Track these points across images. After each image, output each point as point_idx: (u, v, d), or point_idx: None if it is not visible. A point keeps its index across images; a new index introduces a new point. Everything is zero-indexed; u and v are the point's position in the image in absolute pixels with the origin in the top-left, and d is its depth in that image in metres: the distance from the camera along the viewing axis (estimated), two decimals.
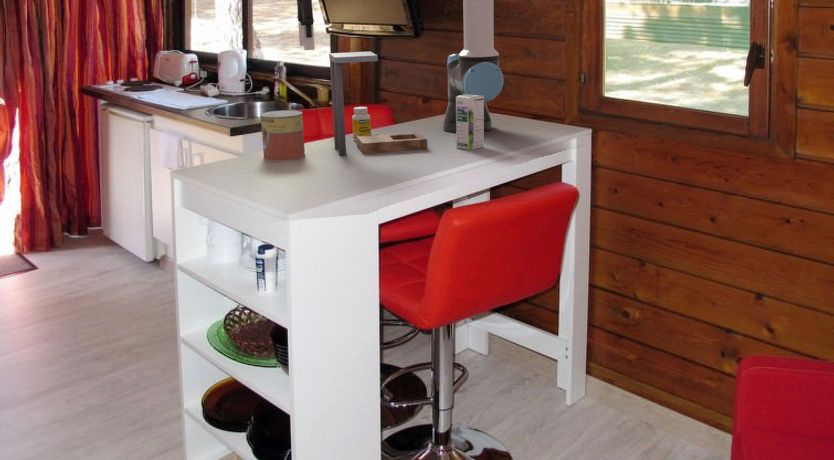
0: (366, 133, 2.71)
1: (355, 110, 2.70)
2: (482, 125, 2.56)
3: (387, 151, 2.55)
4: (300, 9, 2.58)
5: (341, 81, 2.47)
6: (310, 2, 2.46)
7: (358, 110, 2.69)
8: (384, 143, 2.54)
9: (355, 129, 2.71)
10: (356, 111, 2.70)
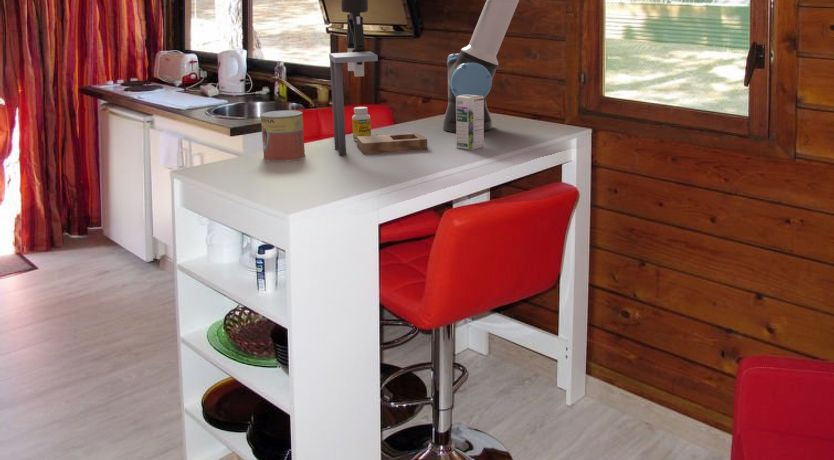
0: (366, 133, 2.71)
1: (355, 110, 2.70)
2: (482, 125, 2.56)
3: (387, 151, 2.55)
4: (350, 36, 2.70)
5: (341, 81, 2.47)
6: (362, 31, 2.58)
7: (358, 110, 2.69)
8: (384, 143, 2.54)
9: (355, 129, 2.71)
10: (356, 111, 2.70)
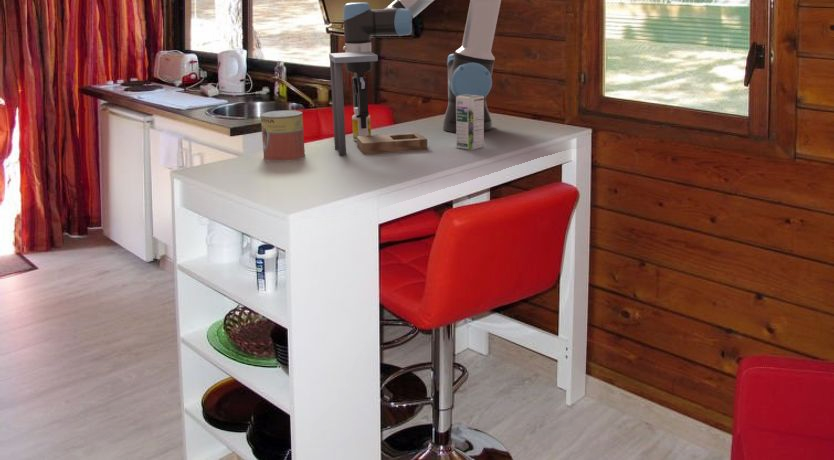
0: None
1: (355, 110, 2.70)
2: (482, 125, 2.56)
3: (387, 151, 2.55)
4: (356, 98, 2.72)
5: (341, 81, 2.47)
6: (366, 96, 2.64)
7: None
8: (384, 143, 2.54)
9: (354, 129, 2.71)
10: (356, 111, 2.70)
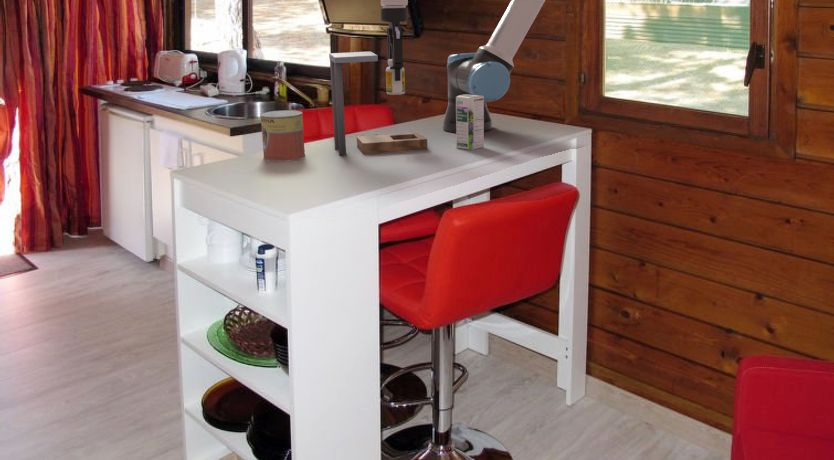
0: None
1: (389, 62, 2.59)
2: (482, 125, 2.56)
3: (387, 151, 2.55)
4: (391, 50, 2.62)
5: (341, 81, 2.47)
6: (401, 47, 2.54)
7: None
8: (384, 143, 2.54)
9: (388, 81, 2.60)
10: (390, 63, 2.59)
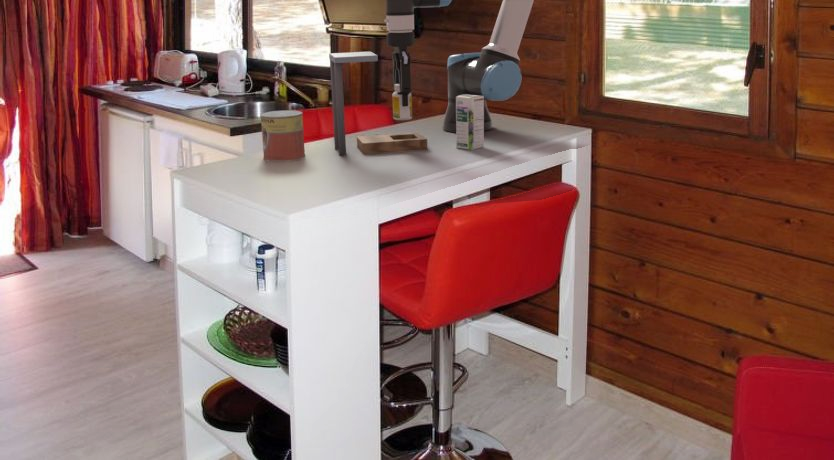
0: None
1: (396, 87, 2.55)
2: (482, 125, 2.56)
3: (387, 151, 2.55)
4: (397, 74, 2.57)
5: (341, 81, 2.47)
6: (409, 72, 2.49)
7: (399, 87, 2.54)
8: (384, 143, 2.54)
9: (395, 107, 2.56)
10: (397, 88, 2.54)
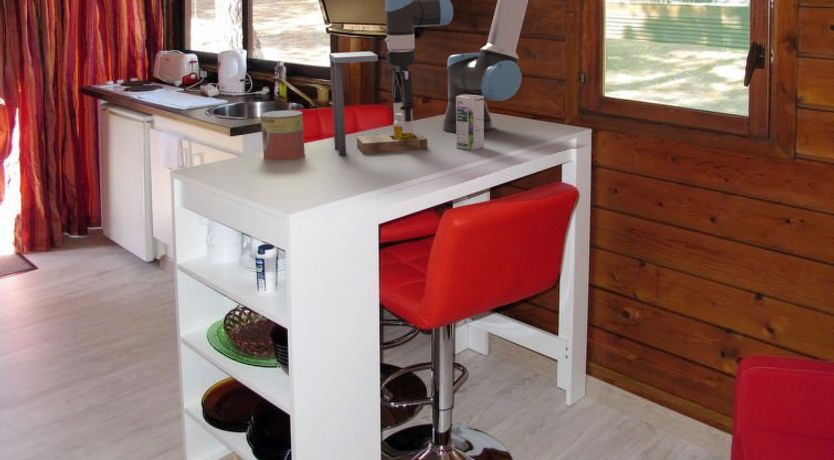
0: None
1: (397, 116, 2.57)
2: (482, 125, 2.56)
3: (387, 151, 2.55)
4: (396, 90, 2.60)
5: (341, 81, 2.47)
6: (410, 87, 2.49)
7: (400, 116, 2.57)
8: (384, 143, 2.54)
9: (396, 136, 2.58)
10: (398, 117, 2.57)
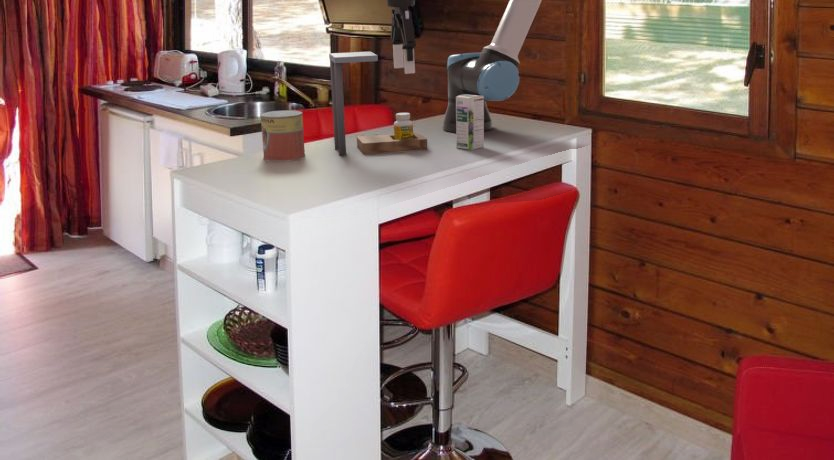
0: None
1: (397, 116, 2.57)
2: (482, 125, 2.56)
3: (387, 151, 2.55)
4: (396, 32, 2.58)
5: (341, 81, 2.47)
6: (411, 26, 2.46)
7: (400, 116, 2.56)
8: (384, 143, 2.54)
9: (396, 136, 2.58)
10: (399, 117, 2.57)
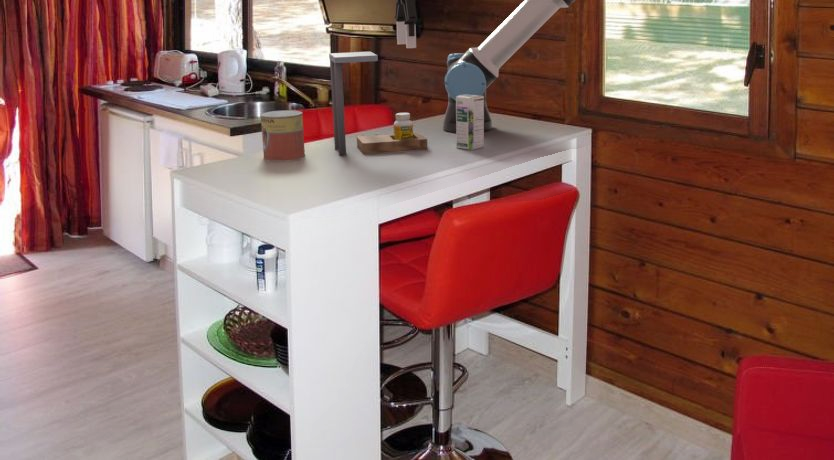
0: None
1: (397, 116, 2.57)
2: (482, 125, 2.56)
3: (387, 151, 2.55)
4: (399, 9, 2.69)
5: (341, 81, 2.47)
6: (414, 2, 2.57)
7: (400, 116, 2.56)
8: (384, 143, 2.54)
9: (396, 136, 2.58)
10: (398, 117, 2.57)
